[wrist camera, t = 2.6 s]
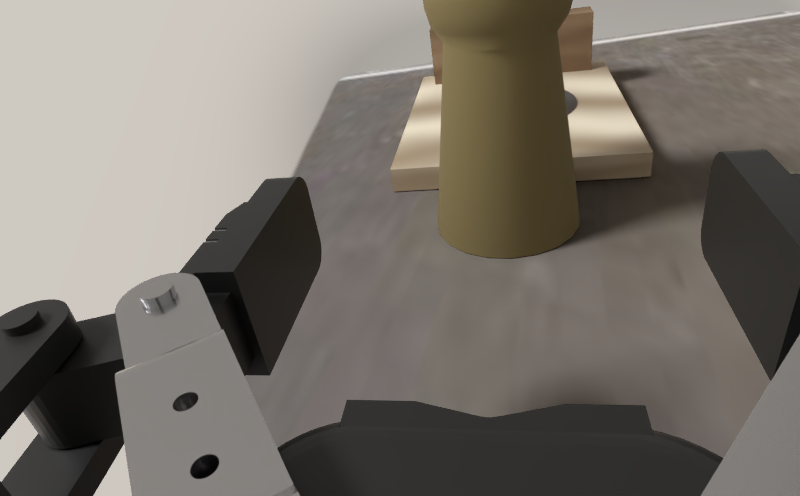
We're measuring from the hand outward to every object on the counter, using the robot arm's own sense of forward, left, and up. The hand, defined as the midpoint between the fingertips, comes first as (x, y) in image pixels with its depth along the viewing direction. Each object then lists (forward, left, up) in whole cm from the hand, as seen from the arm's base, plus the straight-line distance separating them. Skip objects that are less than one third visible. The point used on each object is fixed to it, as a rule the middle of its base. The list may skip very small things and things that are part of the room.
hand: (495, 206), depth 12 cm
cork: (+7, -9, -7) cm, 13 cm away
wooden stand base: (+14, -17, -7) cm, 23 cm away
